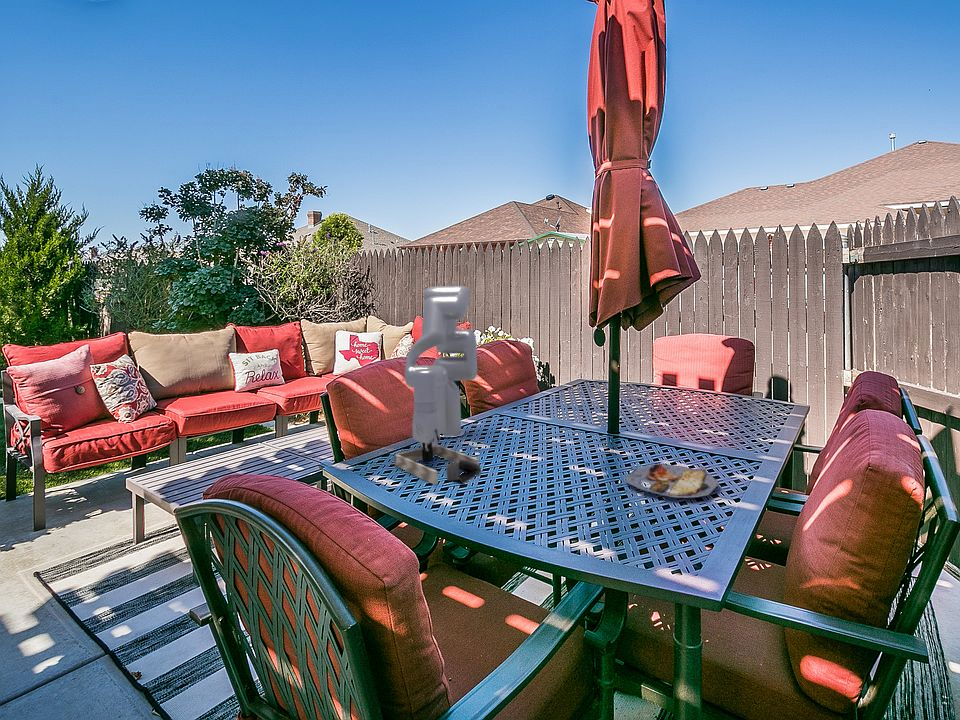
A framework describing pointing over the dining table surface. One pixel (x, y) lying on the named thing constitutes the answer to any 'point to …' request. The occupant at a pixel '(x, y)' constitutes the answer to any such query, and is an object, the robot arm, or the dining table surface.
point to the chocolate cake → (462, 466)
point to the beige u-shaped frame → (424, 472)
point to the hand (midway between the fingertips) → (427, 461)
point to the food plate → (665, 475)
